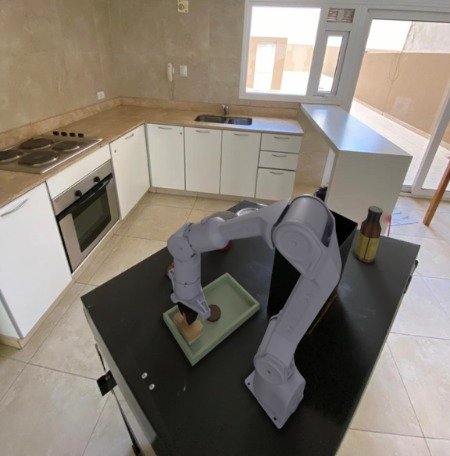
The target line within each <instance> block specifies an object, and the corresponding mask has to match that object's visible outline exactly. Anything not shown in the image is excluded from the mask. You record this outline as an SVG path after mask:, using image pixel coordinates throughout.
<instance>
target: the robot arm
mask: <svg viewBox="0 0 450 456" xmlns="http://www.w3.org/2000/svg"><path fill="white" fill-rule="evenodd" d="M289 202H290V203H289ZM209 216H210V215H207V216H204V217H203V218H202V219H201V220H200V221H197V222H186V223H184V224H183V225H181V227H179V228H178V229H177V230H176V231H175V232H174V233H172V234H171V235H170V236H169V238H167V240H166V247H167V251H168V252H169V255H171V256H172V257H173V262H174V268H173V269H171V270H169V271H168V273H169V276H168V278H169V279H170V280H171V285H172V289H171V291H170V300H171V302H173V304H176V305H178V308H179V311H180V313H181V315H182V316H183V312H184V314H185V317H186V321H187V323H188V325H190V324H192V323H193V322H195V321H196V319H197V316H198V313H199V314H200V318H201V320H202V321H204V320H206V319H207V318H208V317H210V308H209V307H208V305H207V303H206V299H205V296H204V293H203V290H202V288H203V287H202V284H201V277H202V276H201V275H202V274H201V272H202V271H201V268H202V267H201V265H202V264H201V260H202V253H206V252H210V251H211V252H212V251H217V250H219V249H221V248H224V247H226V246H227V244H228V242H229V240H232V241H233V240H234V241H235V240H241V239H248V238H256V237H261V238H262V239H263V240H264V241H265V243H266V244H267V246H268V247H269V249H270V250H275V248H276V249H277V251H278V252H279V253H280V254H281V256H283V257H284V258H285V260H287V261H288V263H290V264H291V266H293V267H294V268H295V269H296V270H297V271H298V272H299V273H300V276H299V278H298V280H297V281H296V284H295V285H294V287H293V289H292V291H291V293H290V294H289V296H288V299H287V300H286V302H285V303H284V306H283V307H282V309H280V310H279V312H278V313H277V314H275V315H273V316H271V317H270V318H269V321H268V325H267V327H266V330H265V333H264V335H263V337H262V340H261V342H260V344H259V346H258V348H257V352H256V353H255V355H254V357H253V366H254V369H253V371H252V372H251V373H250V374H249V375H248V376H247V377H246V378H245V379H244V384H245V386H246V388H248V389H249V391H250V392H251V394H252V395H253V396H254V398H256V400H257V403H258V404H259V405H260V406H261V408H262V409H263V410H264V411H265V413H266V414H267V415H268V417H269V418H270V420H271V421H272V422H273V424H274V425H275V426H276V428H277V429H282V427H283V426H284V425H285V423H286V422H287V421H288V420H289V418H290V416H291V415H292V414H293V413H294V412H295V411H296V410H297V408H298V406H299V404H300V403H301V401H302V400H303V399H304V390H305V386H306V383H307V382H306V380H305V378H304V377H303V376H302V374H301V372H300V371H299V370H298V368H297V366H296V364H295V351H296V349H297V347H298V344H299V343H300V342H301V340H302V338H303V337H304V336H305V334H306V332H307V330H308V329H309V327H310V326H311V325H312V323H313V322H314V320H315V319H316V318H317V316H318V314H319V313H320V311H321V309H322V308H323V307H324V305H325V303H326V302H327V301H328V299H329V297H330V295H331V294H332V292H333V291H334V289H335V288H336V287H337V285H338V284H339V281H340V278H341V272H342V266H343V265H342V257H341V252H340V247H339V241H338V237H337V232H336V231H337V230H336V218H335V216H334V214H333V213H332V211H331V210H330V209H329V207H328V205H327V204H326V203H325V201H324V200H322V198H320V197H318V196H316V195H313V194H307V193H304V194H300V195H297V196H295V197H294V198H293V199H292V197H287V198H283V199H279V200H278V201H276V202H273V203H271V204H269V205H266V206H263V207H260V208H258V209H255V210H252V211H249V212H245V213H243V214H241V215H237V216H238V217H235V218H232V219H229V220H226V221H225V220H223V219H222V218H220V217H214V218H211V219H210V217H209ZM183 304H184V305H183Z"/></svg>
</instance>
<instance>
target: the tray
mask: <svg viewBox="0 0 450 456" xmlns="http://www.w3.org/2000/svg"><path fill="white" fill-rule="evenodd" d="M202 290H203V293H204V296H205V299H206V303H207V305H211V304H214V305H217V306H218V307H219V308H220V309H221V316H220V318H219V320H217V321H215V322H210V321H208V320H207V319H206V320H204V321H202V320H201V318H200V314H199V313H198V316H197V319H198V321H199V322H200V323H201V325H202V326H203V335H202V336H201V337H199V338H198V339H197V340H195V341H194V342H193V343H192V344H190V345H189V344H188V343H187V341H186V340H185V338H184V336H183V335H182V333H181V332H180V330H179V329H178V327H177V326H176V324H175V323H174V315H175V314H177V313H178V312H179V308H178V305H177V304H176V305H174V306H173V307H171V308H170V309H168V310H166V311H165V312H163V313H162V318H163V321H164V322H165V324H166V326H167V327H168V329H169V330H170V332H171V335H173V337H174V339H175V341H176V342H177V344H178V345H179V347H180V348H181V350H182V352H183V353H184V355H185V357H186V358H187V360H188V361H189V363H190V364H191V366H192V367H193V366H194V365H196V364H197V363H198V362H199V361H200V360H202V359H203V358H204V357H205V356H206V355H207V354H209V353H210V352H211V351H212V350H213V349H214V348H215V347H217V346H218V345H219V344H221V342H223V341H224V340H225V339H226V338H227V337H229V336H230V335H231V334H232V333H233V332H234V331H236V330H237V329H238V328H239V327H241V325H243V324H244V323H245V322H247V320H249V319H250V318H251V317H253V315H255V314H256V313H257V312H258V311H259V310H260V305H261V304H260V302H258V300H257V299H255V298H254V297H253V296H252V295H251V294H250V293H249V292H248V291H247V290H246V289H245V288H244V287H243V286H242V285H241V284H240V283H239V282H238V281H237V280H236V279H235V278H234V277H232V275H231V274H229V273H228V272H225V273H224V274H222V275H220V276H219V277H218V278H216V279H215V280H213V281H211V282H210V283H209V284H207V285H205V286H203V287H202Z"/></svg>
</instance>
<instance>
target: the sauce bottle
mask: <svg viewBox="0 0 450 456" xmlns="http://www.w3.org/2000/svg"><path fill="white" fill-rule="evenodd" d="M382 215H383V208H380V207H379V206H376V205H370V206H368V209H367V215H366V218H365V219H364V220H363V221H361V224H360V228H359V231H358V234H357V235H358V236H357V240H356V244H355V248H354V255H355V257H356V259H358V260H359V261H360V262H361V261H362V262H363V263H366V264H368V263H373V261H374V259H375V257H376V253H377V250H378V247H379V243H380V238H381V233H382V229H383V228H382V226H381V217H382Z"/></svg>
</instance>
